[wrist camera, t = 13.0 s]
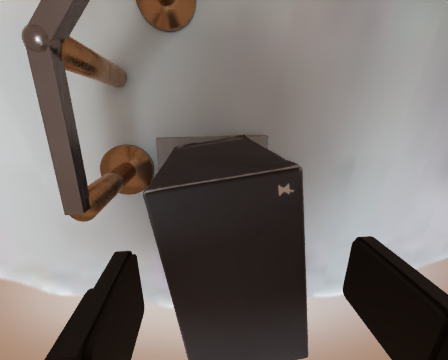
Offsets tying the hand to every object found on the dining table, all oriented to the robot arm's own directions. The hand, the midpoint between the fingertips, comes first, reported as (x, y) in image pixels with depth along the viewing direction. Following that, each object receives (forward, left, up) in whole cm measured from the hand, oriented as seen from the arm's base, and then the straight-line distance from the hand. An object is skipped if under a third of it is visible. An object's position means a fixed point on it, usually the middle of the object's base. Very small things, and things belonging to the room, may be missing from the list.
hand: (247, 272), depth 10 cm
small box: (0, +1, -10) cm, 10 cm away
